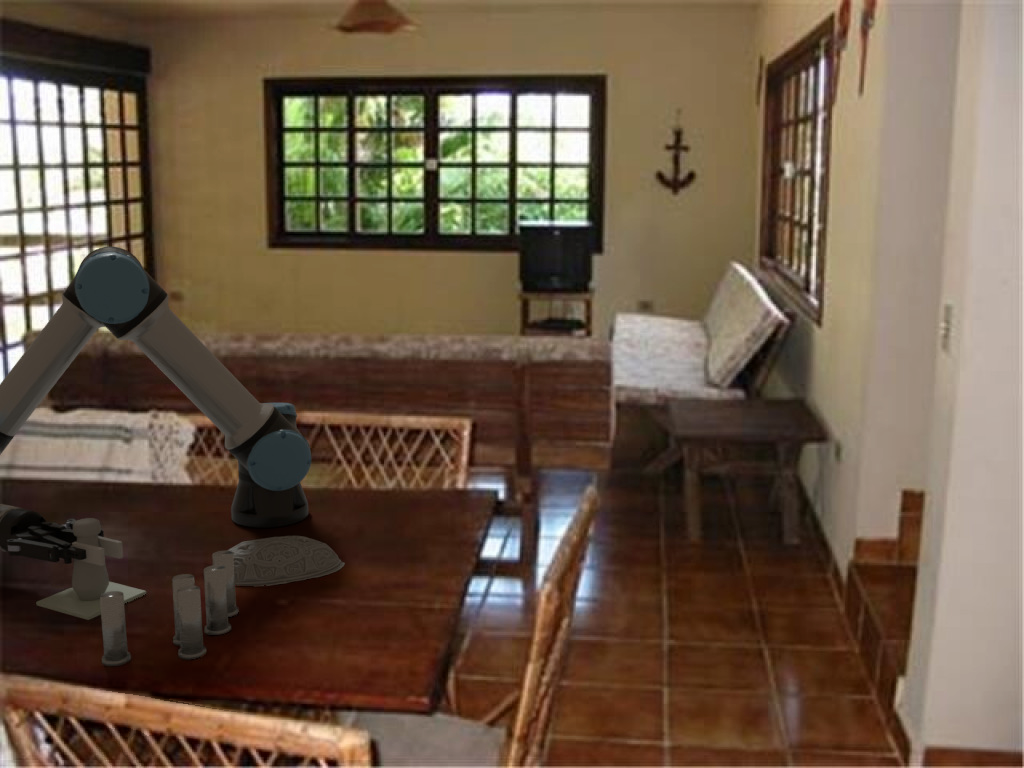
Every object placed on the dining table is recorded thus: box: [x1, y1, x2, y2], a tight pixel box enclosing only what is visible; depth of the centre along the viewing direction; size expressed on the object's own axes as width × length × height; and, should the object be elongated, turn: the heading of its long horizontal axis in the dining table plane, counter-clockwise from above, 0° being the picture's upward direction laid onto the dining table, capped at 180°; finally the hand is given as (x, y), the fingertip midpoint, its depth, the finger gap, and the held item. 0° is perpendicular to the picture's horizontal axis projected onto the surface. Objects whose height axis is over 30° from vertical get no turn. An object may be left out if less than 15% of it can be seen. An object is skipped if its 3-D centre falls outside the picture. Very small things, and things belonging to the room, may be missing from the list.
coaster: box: [35, 580, 147, 621], centre depth 188 cm, size 12×12×1 cm
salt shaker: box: [71, 517, 110, 601], centre depth 187 cm, size 6×6×13 cm
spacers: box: [100, 549, 240, 667], centre depth 172 cm, size 21×17×10 cm
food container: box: [227, 535, 345, 587], centre depth 201 cm, size 16×25×7 cm, turn 109°
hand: (111, 553), depth 184 cm, fingers closed on salt shaker, 3 cm apart
